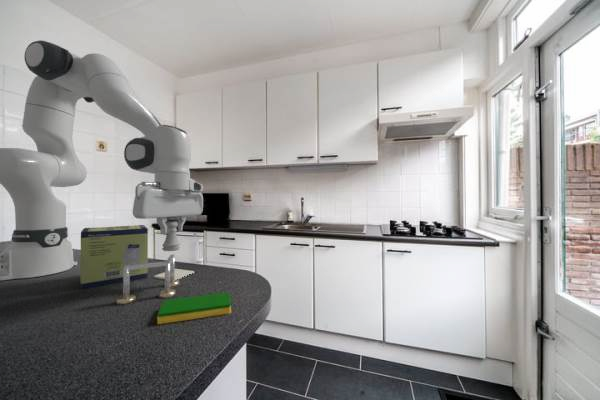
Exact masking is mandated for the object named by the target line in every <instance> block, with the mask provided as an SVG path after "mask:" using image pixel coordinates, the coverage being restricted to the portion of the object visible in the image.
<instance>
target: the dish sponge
mask: <svg viewBox="0 0 600 400" xmlns="http://www.w3.org/2000/svg"><path fill="white" fill-rule="evenodd" d="M230 294H231V293H230V292H229V291H228V292H221V293H220V292H219V293H212V294H204V295H196V296H187V297H178V298H171V299H164V300H163V301H162V304H161V306H160V308H159V310H158V312H157V313H156V315H157V317H156V319H157V321H156V322H157V325H164V324H170V323H174V322H175V323H177V322H182V321H188V320H196V319H203V318H204V319H205V318H209V317H216V316H222V315H228V314H231V313H232V301H231V296H230Z"/></svg>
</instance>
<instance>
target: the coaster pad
mask: <svg viewBox="0 0 600 400" xmlns="http://www.w3.org/2000/svg"><path fill="white" fill-rule="evenodd" d="M192 273H193V274H195V270H187V269H180V268H175V280H177V279H178V280H179V279H182V277H183V278H185V277H187V275H188V276H190V275H189V274H191V275H193V274H192ZM184 276H185V277H184ZM153 279H159V280H165V271H164V272H161V273H159V274H158V273H157V274H155V275H153Z"/></svg>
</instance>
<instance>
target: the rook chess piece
mask: <svg viewBox="0 0 600 400" xmlns="http://www.w3.org/2000/svg"><path fill="white" fill-rule="evenodd" d="M177 222H178V220H173V221H172V220H169V221H168V220H167V221H166V222H165V223H166V225H167V227H170V230H169V231H170V233H169V234H165V239H164V242H163V243H162V248H161V250H162V251H164V252H175V251H179V250H180V242H179V240H178V236H177V232H176V231H177V229H176V227H177V226H178V224H177Z"/></svg>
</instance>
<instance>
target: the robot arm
mask: <svg viewBox="0 0 600 400" xmlns="http://www.w3.org/2000/svg"><path fill="white" fill-rule="evenodd" d="M24 62H25V64H26V67H27V69H28V70H29V71H30V72H32V73H33V74H34V75H36V76H35V77H34V78H33V79H32V81H31V84H30V86H29V88H28V91H27V95H26V99H25V104H24V105H25V106H24V111H23V118H22V125H21V126H22V130H23V132H24V133H25V134H26V135H27V136H28V137H29V138H31V139H32V140H33V142H34V144H35V146H36V149H37V151H36V150H32V149H31V150H30V149H26V148H20V147H19V148H18V147H0V185H1V186H2V187H4V189H5V190H6V191H7V193H8V194H9V196H10V198H11V200H12V202H13V206H14V214H15V215H14V216H15V219H14V220H15V229H13V231H12V234H11V239H10V241H11V243H10V244H9V245H8V246H7V247H6V248H5V249H4V250H3V251H2V252H0V281H9V280H15V279H17V280H19V279H28V278H37V277H43V276H49V275H53V274H58V273H62V272H65V271H68V270H71V269H72V268H73V267H74V265H75V266H77V265H78V261H75V260H74V252H73V244H72V242H71V241H69V240H68V239H67V238H68V237H69V234H68V233H69V230H68V227H67V206H66V204H65V203H64V201H62V200H60V199H59V198H57V197H56V196H55V194H54V192H53V190H52V187H53V188H56V187H57V188H66V187H74V186H78V185H81V184H82V183H83V182H84V181H85V180H86V178H87V173H88V171H87V168H86V166H85V165H84V164H83V163H82V161H80V160H79V158H78V156H77V153H76V150H75V147H74V143H73V133H74V132H73V131H74V125H75V123H74V121H75V115H76V107H77V102H78V101H79V100H80V99H83V100H84V101H85V102H86V103H94V104H96V105H97V107H99V109H100V110H101V111H102V112H104V113H106V114H107V115H109V116H111V117H113V118H115V119H117V120H120V121H122V122H123V123H126V124H127V125H130V126H131V127H133V128H134V129H136V130H138V131H139V132H141V133H142V134H143V136H142V137H135V138H132V139H131V140H128V142H127V143H126V145H125V146H124V151H123V152H124V153H123V156H124V157H123V158H124V161H125V163H126V164H127V166H128V167H129V168H130V169H131V170H133V171H136V172H140V173H146V174H147V173H149V174H153V175H154V182H153V181H151V182H149V181H142V182H140V183H138V184H137V185H136V186H135V190H134V193H135V196H134V199H133V200H134V201H133V205H132V215H133V216H134V218H136V219H140V220H142V219H143V220H145V219H156V223H157V224H158V226H159V227H160V230H159V231H160V234H161V235H166V234H169V233H170V231H169V230H170V227H167V225H166V223H167V221H168V218H173V217H176V221H177V224H178V226H177V227H176V229H177V231H176V233H181V232H183V227H184V224H185V223H186V220H187V217H188V216H189V217H190V216H201V214H202V213H203V211H204V209H203V208H204V196H203V193H202V192H203V190H204V185H203V184H202V183H199V181H196V180H195V179H193V178H191V172H190V171H191V170H190V162H191V156H192V155H191V154H192V153H191V148H192V147H191V140H190V135H189V134H188V133H187V132H186V130H183V129H181V128H179V127H175V126H172V125H169V124H161V123H160V121H159V120H158V118H157V117H156V116H155V115H154V114H153V113H152V112H151V110H150V109H149V108H148V107H147V106H146V104H145V103H144V102H143V100H141V98H140V97H139V96H138V94H137V93H136V91H135V90H134V88H133V87H132V85H131V84H130V81H129V80H128V78H127V77H126V75H125V73H124V72H123V71H122V70H121V69H120V68H119V66H118V65H117V64H116V63H115V62H114V61H113V60H112V59H111V58H109V57H108V56H107V55H104V54H101V53H95V52H94V53H93V52H92V53H87V54H85V55H84V56H83V57H80V56H78V55H77V54H74V53H72V52H71V51H69V50H68V49H66V48H63V47H62V46H61V45H57V44H55V43H52V42H48V41H47V40H42V39H40V40H35V41H32V42H31V43H30V44H28V46H27V47H26V49H25V52H24Z"/></svg>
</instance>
